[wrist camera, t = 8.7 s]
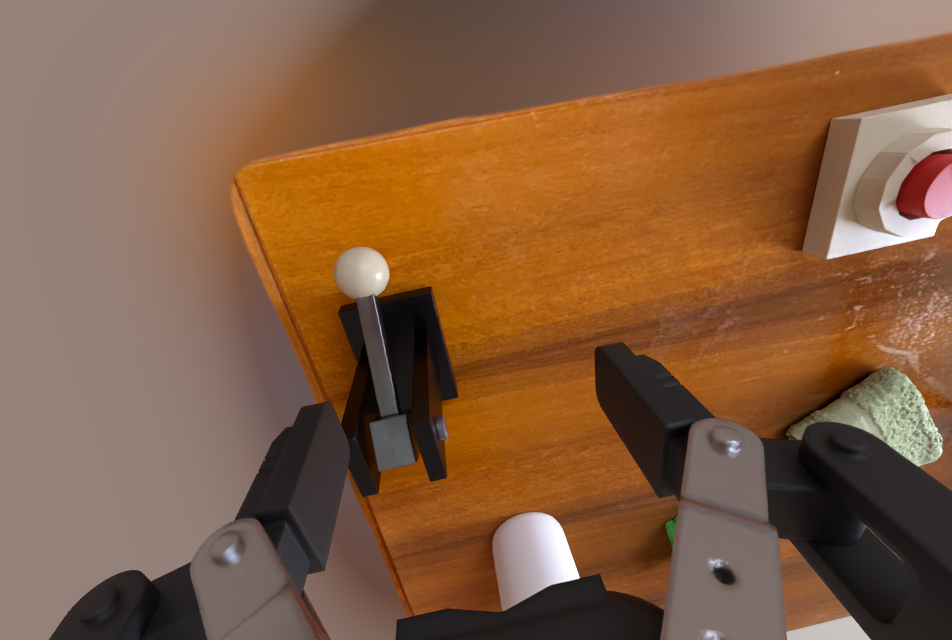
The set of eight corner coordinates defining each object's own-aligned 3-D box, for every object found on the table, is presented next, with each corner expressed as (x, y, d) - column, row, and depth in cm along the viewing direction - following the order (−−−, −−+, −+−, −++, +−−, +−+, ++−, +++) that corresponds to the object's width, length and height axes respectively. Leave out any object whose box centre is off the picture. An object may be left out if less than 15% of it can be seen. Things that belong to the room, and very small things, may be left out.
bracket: (340, 305, 29) (294, 405, 19) (431, 285, 29) (436, 373, 19) (379, 406, 34) (359, 532, 23) (457, 389, 34) (473, 506, 24)
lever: (339, 259, 25) (320, 247, 22) (388, 248, 25) (376, 235, 22) (380, 459, 24) (366, 477, 21) (430, 448, 24) (424, 463, 21)
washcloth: (826, 498, 49) (851, 521, 46) (771, 429, 42) (797, 452, 39) (928, 436, 45) (962, 456, 43) (887, 351, 38) (925, 369, 36)
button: (906, 160, 26) (937, 162, 24) (962, 148, 26) (996, 149, 24) (887, 219, 28) (915, 224, 26) (940, 207, 28) (970, 212, 26)
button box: (830, 118, 28) (891, 117, 24) (949, 93, 28) (1026, 89, 24) (801, 252, 32) (848, 267, 29) (903, 229, 32) (962, 242, 29)
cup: (548, 500, 42) (582, 601, 33) (578, 556, 48) (615, 657, 39) (479, 527, 43) (494, 634, 34) (517, 580, 48) (538, 685, 39)
